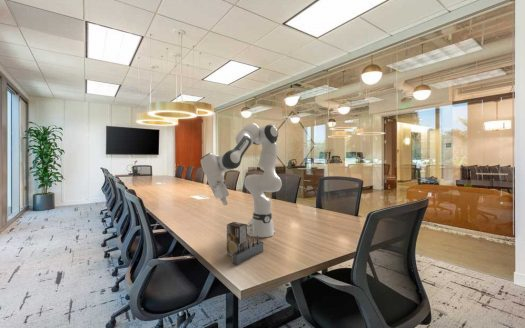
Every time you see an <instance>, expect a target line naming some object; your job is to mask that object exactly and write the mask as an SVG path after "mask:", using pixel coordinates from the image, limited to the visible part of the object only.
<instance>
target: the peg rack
mask: <svg viewBox="0 0 525 328" xmlns="http://www.w3.org/2000/svg"><path fill="white" fill-rule="evenodd" d="M250 240H251V241H252V244H251V243H250V242H251V241H250ZM263 252H264V241H260V237H259V235H257V237H256V242H255V237H252V239H250V238H249V239H248V238H247V247H245V242H243V249H241V250H240V244H238V251H237V252H235V253H233V254H232V256H231V260H232V261H231V263H232V265H234V266H239V265H241V264H243V263H245V262H246V261H249V260H250V259H252V258H254V257H256V256H257V255H259V254H261V253H263Z"/></svg>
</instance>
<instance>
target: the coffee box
mask: <svg viewBox="0 0 525 328" xmlns="http://www.w3.org/2000/svg"><path fill="white" fill-rule="evenodd" d="M247 224H248V223H242V222H237V221H232V222H229V223H227V224H226V256H230V257H232V254H233V253H235V252H237V251H238V244H240V250H241V249H243V242H245V247H247V246H248V234H247V228H248V227H247Z"/></svg>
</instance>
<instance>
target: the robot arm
mask: <svg viewBox="0 0 525 328" xmlns="http://www.w3.org/2000/svg"><path fill="white" fill-rule="evenodd" d="M278 137H279V129H278V127H277V126H276V125H275V124H267V125H264V126H263V125H262V126H259V125H258V124H256V123H255V122H249V123H248V124H246V125H245V126H244V127H243V128H242V129H241V130H240V131H239V132H238V133H237V135H236V137H235V143H236V145H235V147H234V148H233V149H230V150H228V151H226V152H225V153H223V154H222V155H219V154H215V153H213V152H209V153H207V154H205V155H204V156H201V158H200V165H201V168H202V171H203V173H204V174H205V176H206V178H205V179H206V181H207V183H208V188H210V189H211V191H212V193H213V195H214V198H215V199H220V202H221V203H222V205H223V206H227V205H228V202H227V197H229V196H230V193H229V190H228V188H227V186H226V184H225V178H224V175H223V174H222V173H226V172H228V171H231V170H234V169H237V168H238V167H240V165H241V164H242V159H243V156H244V155H245V153H246V152H247V150H248V149H249V147H252V145H255V146H257V145H259V146H260V145H261V151H260V155H259V160H258V168H259V169H260V170H262V171H263V174H255V173H253V174H249V175H247V176H246V177H245V178H244V181H243V184H244V188H245V189H247V190H248V192H249V193H250V195H251V197H252V199H253V212H252V218H251V219H250V220H249V221H248V222H247V223H246V224H247V236H249V237H252V238H253V237H254V238H257V235H259V238H269V237H271V236H272V237H273V236H274V234H275V233H276V230H274V229H275V228H274V220H273V214H272V201H271V199H270V198H269V197H267V196H266V194H265V193H275V192H279V191H280V190H281V189H282V186H283V182H282V179H281V178H280V176H279V175H278V174H277V172H276V163H277V162H276V161H277V156H278V144H277V143H276V142H277V141H278ZM264 192H265V193H264Z"/></svg>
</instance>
